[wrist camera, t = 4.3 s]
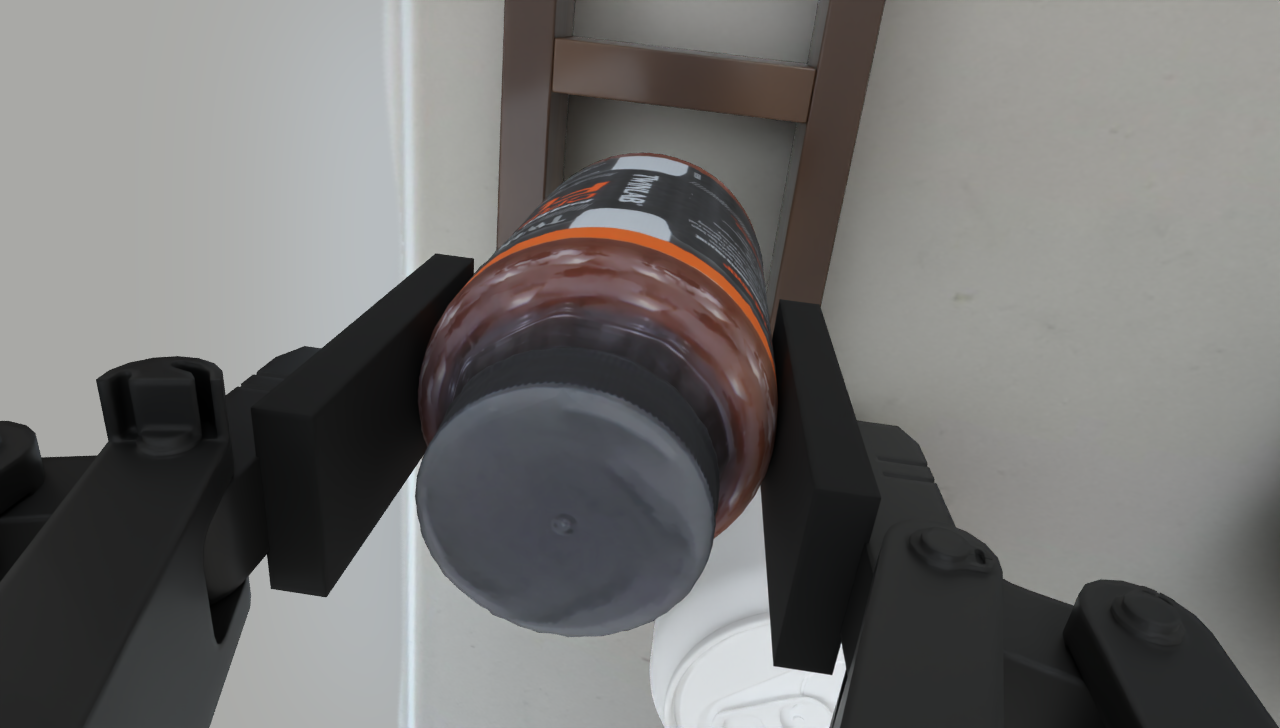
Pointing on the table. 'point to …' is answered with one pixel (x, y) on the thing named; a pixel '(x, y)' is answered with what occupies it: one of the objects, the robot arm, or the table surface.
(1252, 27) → the table surface
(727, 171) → the table surface
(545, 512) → the supplement bottle
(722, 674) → the beverage can
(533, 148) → the rack
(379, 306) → the robot arm
